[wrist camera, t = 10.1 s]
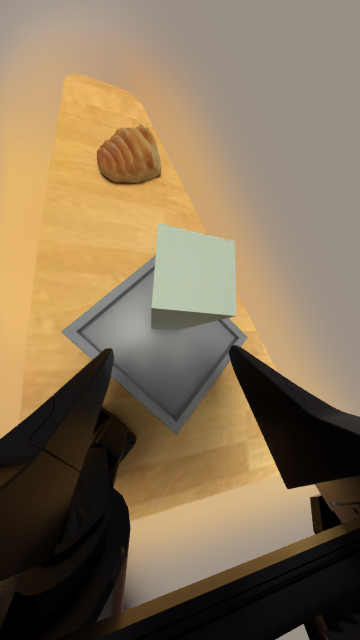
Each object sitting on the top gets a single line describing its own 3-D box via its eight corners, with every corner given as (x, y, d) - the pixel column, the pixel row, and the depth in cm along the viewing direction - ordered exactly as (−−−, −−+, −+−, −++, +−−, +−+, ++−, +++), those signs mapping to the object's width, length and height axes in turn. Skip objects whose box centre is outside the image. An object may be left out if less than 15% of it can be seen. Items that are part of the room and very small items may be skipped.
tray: (173, 424, 17) (176, 434, 15) (71, 332, 16) (61, 331, 14) (238, 337, 21) (247, 337, 19) (160, 258, 20) (161, 250, 18)
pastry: (116, 196, 20) (109, 164, 16) (89, 161, 20) (75, 121, 16) (164, 177, 23) (166, 146, 19) (140, 146, 22) (138, 108, 19)
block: (179, 330, 18) (236, 315, 6) (151, 328, 17) (151, 307, 5) (181, 302, 19) (234, 241, 7) (153, 299, 18) (158, 223, 6)
